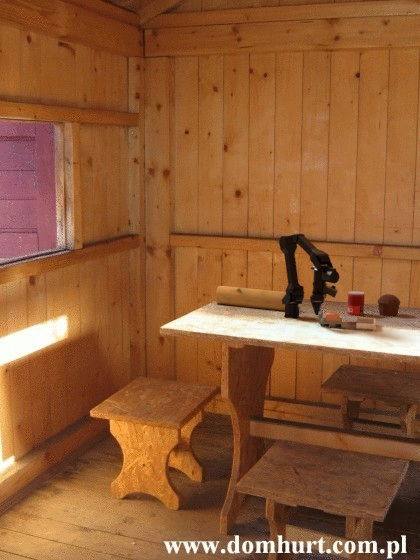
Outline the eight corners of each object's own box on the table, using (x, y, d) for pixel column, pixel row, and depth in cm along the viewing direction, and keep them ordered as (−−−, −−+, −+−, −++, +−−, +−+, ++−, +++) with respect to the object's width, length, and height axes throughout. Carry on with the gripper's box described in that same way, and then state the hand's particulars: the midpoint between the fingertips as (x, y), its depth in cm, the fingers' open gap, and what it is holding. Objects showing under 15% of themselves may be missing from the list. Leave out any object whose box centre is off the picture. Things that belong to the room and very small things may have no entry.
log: (291, 309, 409) (292, 290, 407) (284, 312, 400) (285, 292, 399) (222, 302, 425) (223, 283, 423) (215, 304, 416) (215, 285, 415)
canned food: (363, 316, 394) (364, 294, 392) (346, 315, 395) (347, 293, 394) (363, 313, 401) (364, 291, 400) (347, 312, 403) (348, 290, 401)
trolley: (318, 326, 367) (318, 314, 366) (320, 322, 378) (320, 310, 377) (340, 327, 365) (340, 314, 364) (342, 322, 376) (341, 310, 375)
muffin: (403, 316, 394) (404, 296, 393) (382, 317, 392) (383, 297, 391) (394, 312, 406) (395, 292, 404) (373, 312, 404) (374, 292, 402)
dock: (328, 330, 365) (328, 321, 364) (330, 324, 379) (330, 315, 378) (375, 333, 361) (375, 324, 360) (375, 327, 374) (375, 318, 374)
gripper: (335, 284, 359) (333, 318, 361) (338, 278, 377) (336, 311, 379) (311, 282, 361) (309, 316, 363) (314, 276, 379) (312, 309, 382)
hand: (317, 313), depth 372 cm, fingers open, 9 cm apart
